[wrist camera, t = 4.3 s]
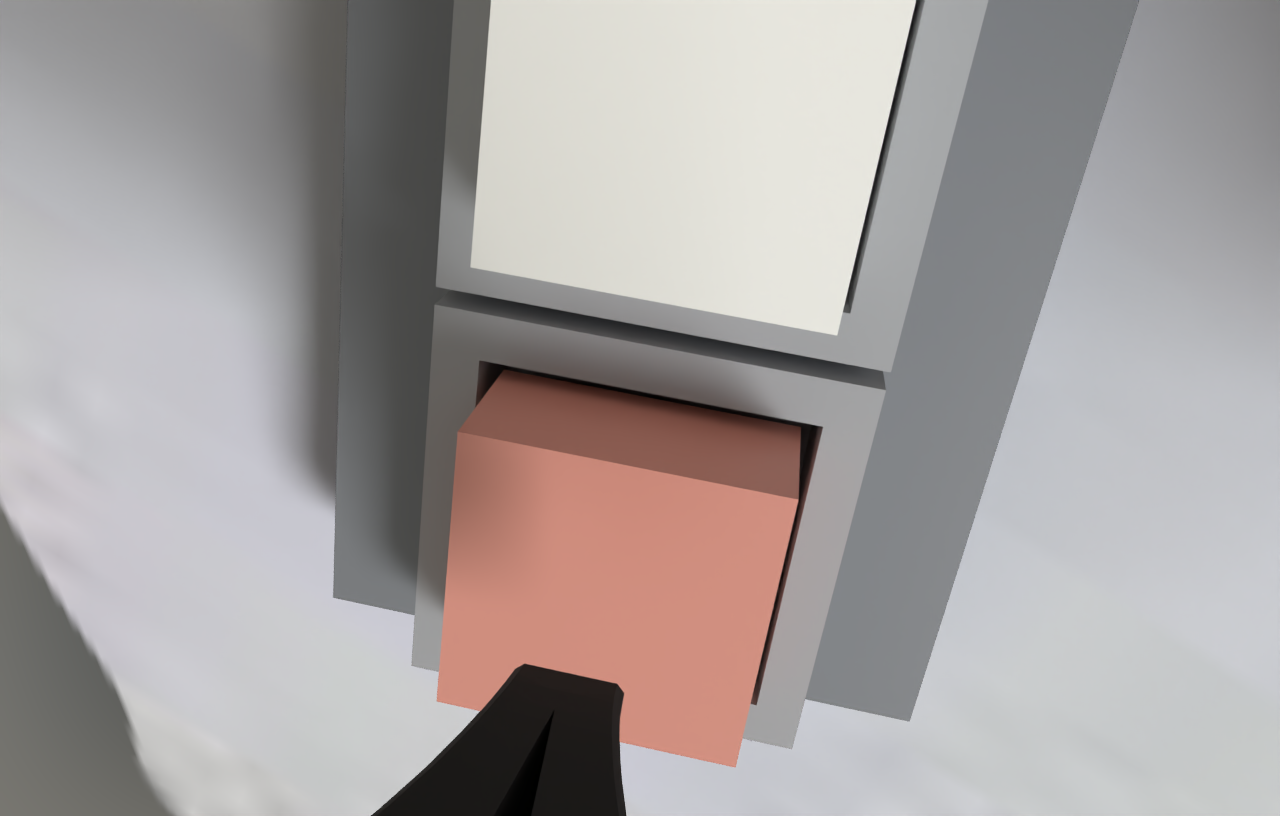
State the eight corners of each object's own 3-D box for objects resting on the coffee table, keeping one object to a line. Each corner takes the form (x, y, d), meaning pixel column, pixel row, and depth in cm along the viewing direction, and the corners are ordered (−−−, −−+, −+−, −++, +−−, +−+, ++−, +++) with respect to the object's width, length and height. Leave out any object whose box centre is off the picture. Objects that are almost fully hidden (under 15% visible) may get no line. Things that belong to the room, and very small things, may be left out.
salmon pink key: (800, 427, 17) (798, 499, 15) (745, 670, 19) (735, 767, 17) (503, 369, 18) (457, 432, 15) (480, 614, 20) (436, 701, 17)
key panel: (1332, -782, 14) (1552, -1096, 10) (900, 646, 23) (918, 794, 19) (441, -867, 15) (295, -1184, 11) (378, 536, 24) (289, 656, 20)
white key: (915, -75, 14) (934, -80, 12) (833, 281, 16) (836, 335, 14) (551, -131, 14) (502, -146, 12) (517, 223, 17) (470, 266, 14)
